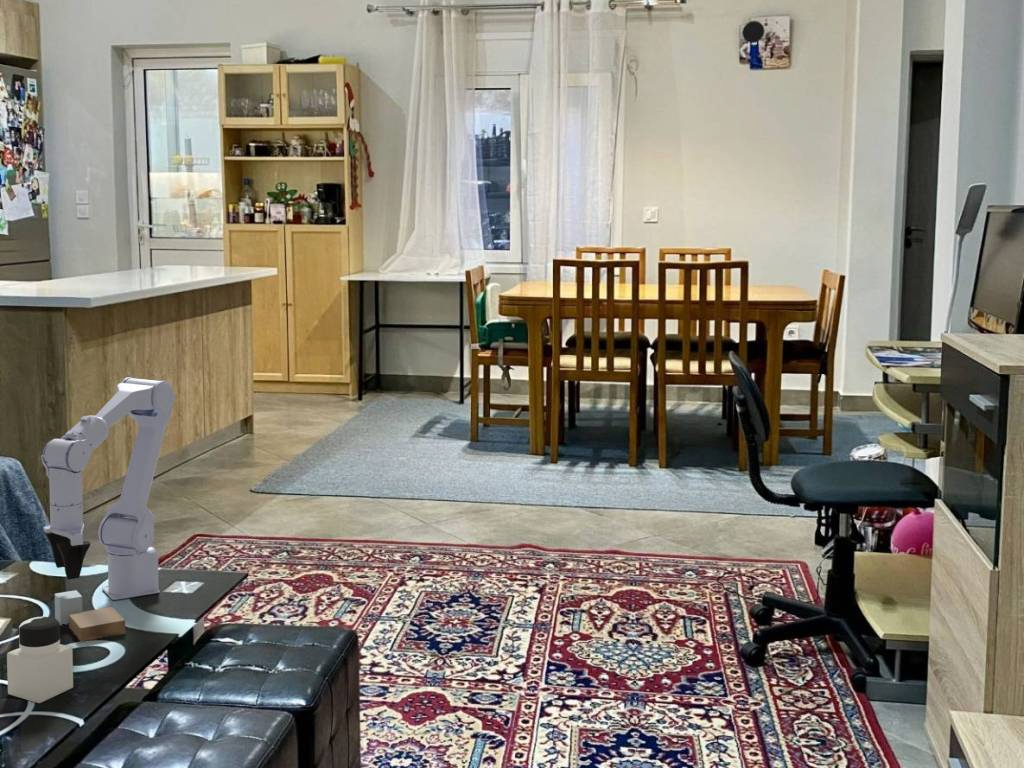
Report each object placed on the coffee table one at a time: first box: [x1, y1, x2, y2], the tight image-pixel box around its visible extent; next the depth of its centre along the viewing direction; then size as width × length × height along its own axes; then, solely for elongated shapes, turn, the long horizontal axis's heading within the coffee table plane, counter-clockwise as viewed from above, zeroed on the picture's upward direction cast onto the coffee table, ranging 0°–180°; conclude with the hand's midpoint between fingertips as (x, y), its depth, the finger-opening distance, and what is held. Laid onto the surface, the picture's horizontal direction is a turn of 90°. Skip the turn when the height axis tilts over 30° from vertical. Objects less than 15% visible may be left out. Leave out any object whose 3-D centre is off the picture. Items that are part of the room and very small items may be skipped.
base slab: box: [68, 606, 126, 642], centre depth 207 cm, size 8×8×3 cm
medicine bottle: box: [6, 616, 74, 704], centre depth 180 cm, size 7×7×12 cm
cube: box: [54, 589, 83, 626], centre depth 211 cm, size 4×4×5 cm
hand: (67, 572), depth 210 cm, fingers open, 7 cm apart
